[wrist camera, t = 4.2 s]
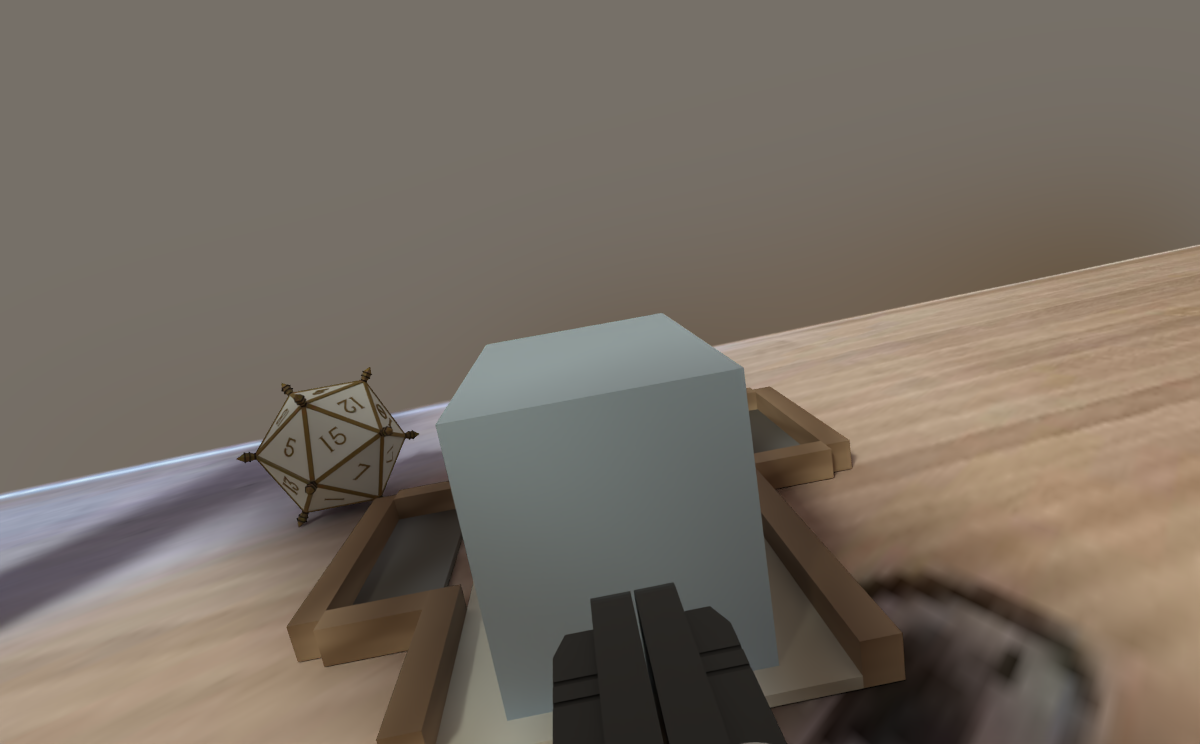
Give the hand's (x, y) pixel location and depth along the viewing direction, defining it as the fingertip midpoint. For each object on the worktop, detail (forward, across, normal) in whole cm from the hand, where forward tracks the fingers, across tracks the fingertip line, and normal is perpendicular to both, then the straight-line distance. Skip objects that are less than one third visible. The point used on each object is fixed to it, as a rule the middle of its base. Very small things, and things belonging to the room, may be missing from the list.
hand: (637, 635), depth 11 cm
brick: (+12, 0, +6) cm, 13 cm away
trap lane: (+19, 0, +6) cm, 20 cm away
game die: (+26, +15, +7) cm, 30 cm away
